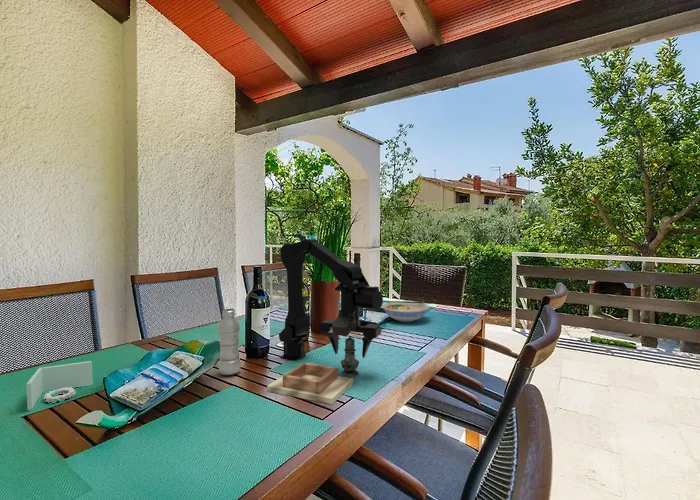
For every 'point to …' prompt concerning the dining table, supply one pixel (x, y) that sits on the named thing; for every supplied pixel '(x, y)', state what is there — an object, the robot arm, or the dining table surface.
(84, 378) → the right angle wall
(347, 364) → the salt shaker
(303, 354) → the robot arm
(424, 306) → the ramen bowl
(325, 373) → the shaker holder
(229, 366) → the plastic bottle
